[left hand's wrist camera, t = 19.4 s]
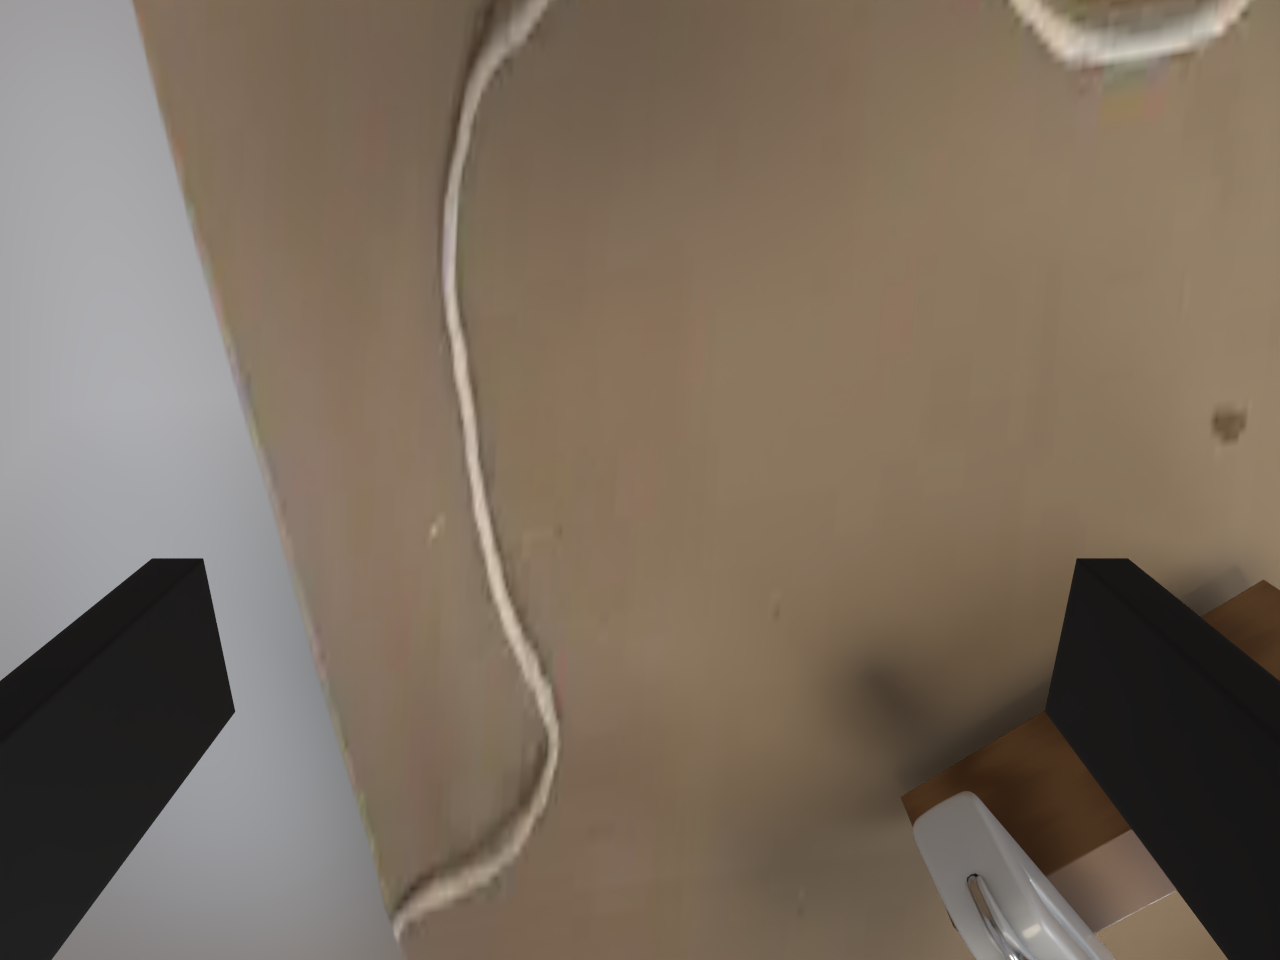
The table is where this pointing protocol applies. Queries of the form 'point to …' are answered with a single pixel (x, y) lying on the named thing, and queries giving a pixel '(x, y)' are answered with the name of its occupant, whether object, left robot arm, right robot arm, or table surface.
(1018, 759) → the brown wooden block
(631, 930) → the table surface
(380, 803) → the table surface
